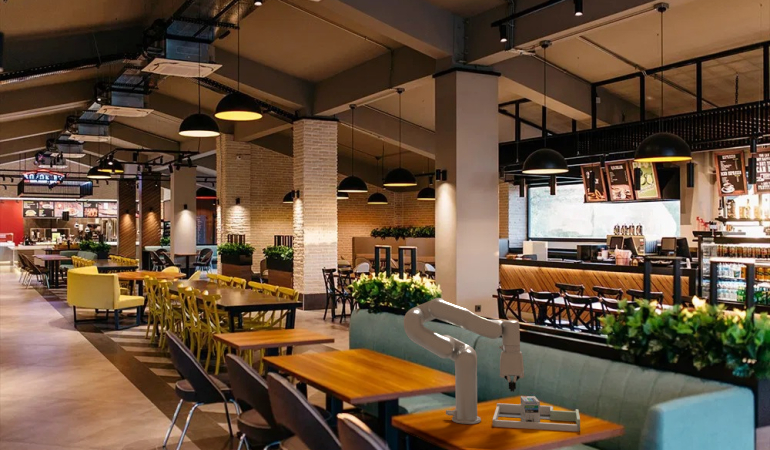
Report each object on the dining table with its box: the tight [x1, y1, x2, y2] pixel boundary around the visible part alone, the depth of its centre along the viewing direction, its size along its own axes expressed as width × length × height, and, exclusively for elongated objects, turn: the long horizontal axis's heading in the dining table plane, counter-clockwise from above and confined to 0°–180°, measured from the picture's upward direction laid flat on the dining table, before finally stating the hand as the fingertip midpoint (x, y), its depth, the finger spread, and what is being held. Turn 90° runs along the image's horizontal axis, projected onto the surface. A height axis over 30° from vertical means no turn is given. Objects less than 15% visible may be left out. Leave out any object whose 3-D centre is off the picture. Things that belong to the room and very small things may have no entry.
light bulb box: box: [520, 395, 541, 422], centre depth 297 cm, size 11×7×11 cm, turn 179°
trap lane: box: [492, 402, 581, 432], centre depth 300 cm, size 36×25×5 cm
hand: (512, 390), depth 299 cm, fingers closed
